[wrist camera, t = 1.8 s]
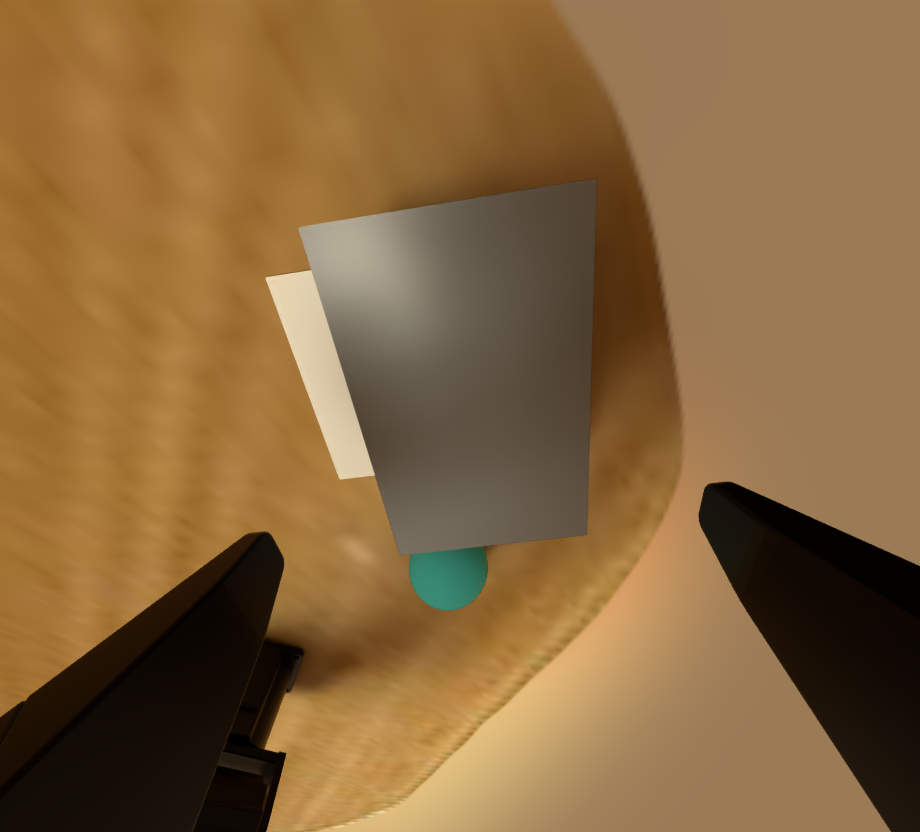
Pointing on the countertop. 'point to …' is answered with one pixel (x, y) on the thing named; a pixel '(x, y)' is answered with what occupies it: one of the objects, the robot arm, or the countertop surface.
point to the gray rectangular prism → (469, 360)
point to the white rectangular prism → (321, 370)
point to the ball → (449, 576)
